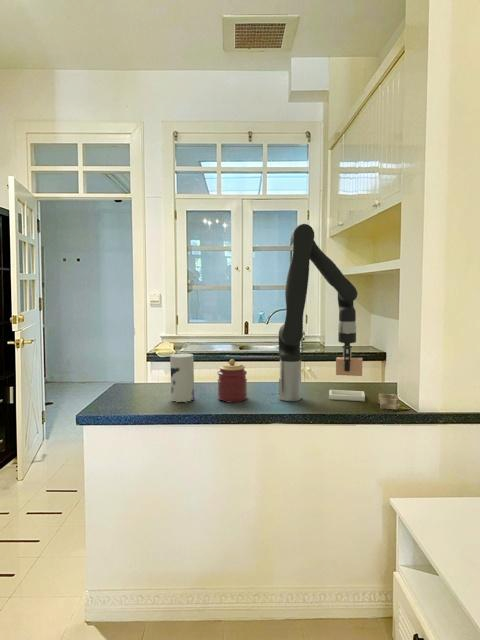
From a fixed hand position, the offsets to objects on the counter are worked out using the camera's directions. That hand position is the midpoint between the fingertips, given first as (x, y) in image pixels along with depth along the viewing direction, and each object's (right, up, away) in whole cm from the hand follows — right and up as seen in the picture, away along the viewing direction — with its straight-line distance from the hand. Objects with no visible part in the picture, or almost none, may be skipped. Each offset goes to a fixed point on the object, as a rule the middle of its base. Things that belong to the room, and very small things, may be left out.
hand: (347, 369), depth 188 cm
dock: (+14, -14, -12) cm, 23 cm away
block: (+1, -2, 0) cm, 2 cm away
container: (-72, -14, +1) cm, 73 cm away
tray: (0, -12, +1) cm, 13 cm away
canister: (-50, -13, +1) cm, 52 cm away
